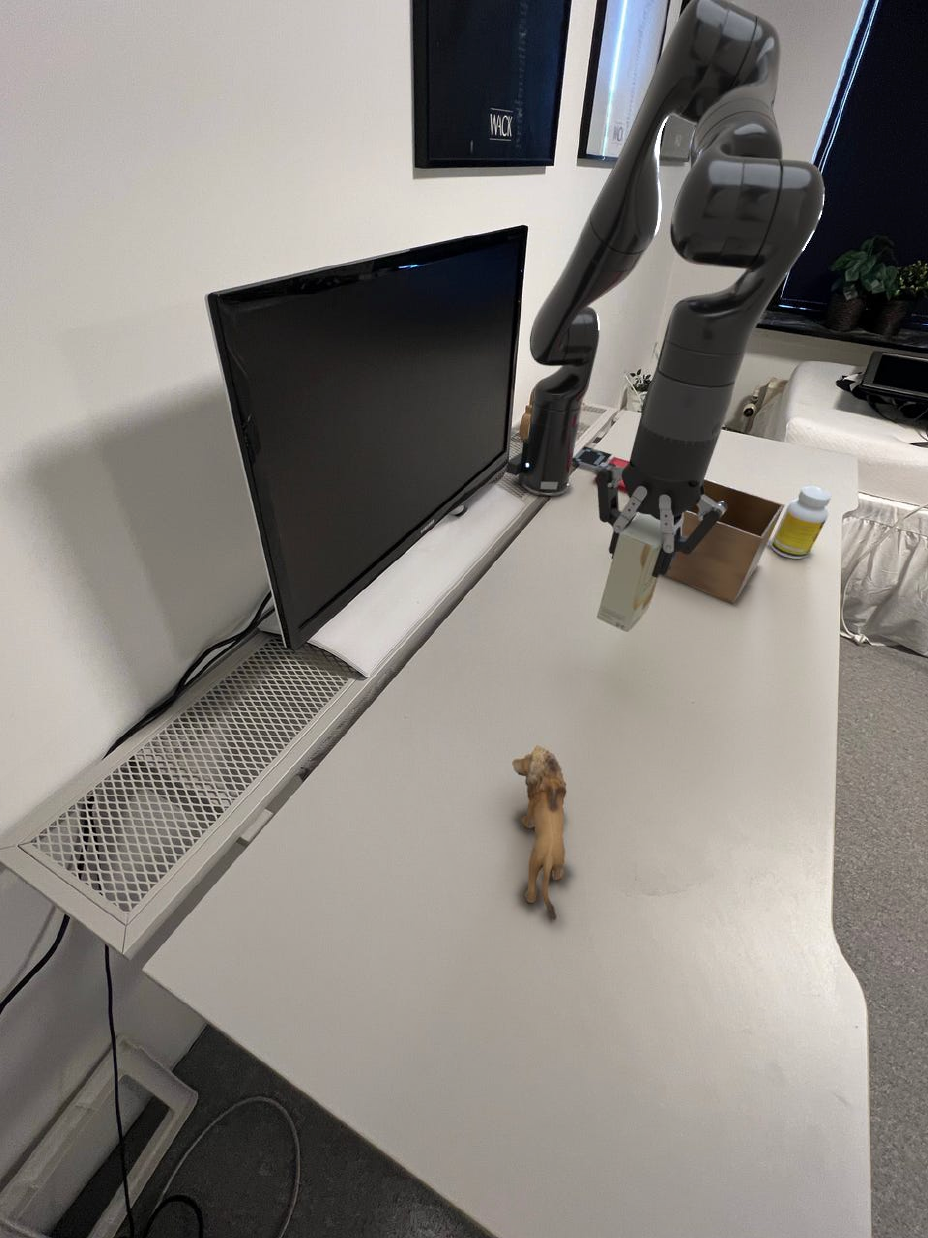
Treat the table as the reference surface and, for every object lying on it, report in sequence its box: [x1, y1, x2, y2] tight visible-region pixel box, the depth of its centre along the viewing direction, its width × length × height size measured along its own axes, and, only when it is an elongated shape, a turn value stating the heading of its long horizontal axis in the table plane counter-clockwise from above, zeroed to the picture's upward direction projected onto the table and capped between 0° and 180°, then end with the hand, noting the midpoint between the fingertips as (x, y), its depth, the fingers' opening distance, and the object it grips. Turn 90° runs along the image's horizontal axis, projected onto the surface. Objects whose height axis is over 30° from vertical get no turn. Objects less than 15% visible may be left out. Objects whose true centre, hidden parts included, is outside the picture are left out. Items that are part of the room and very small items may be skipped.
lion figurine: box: [511, 744, 567, 921], centre depth 59 cm, size 15×5×9 cm, turn 6°
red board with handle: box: [572, 445, 630, 493], centre depth 124 cm, size 30×3×15 cm
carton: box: [664, 478, 786, 605], centre depth 98 cm, size 14×13×12 cm
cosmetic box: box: [596, 513, 663, 633], centre depth 69 cm, size 6×4×12 cm
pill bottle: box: [770, 485, 832, 560], centre depth 104 cm, size 6×6×12 cm
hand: (637, 564), depth 68 cm, fingers closed on cosmetic box, 4 cm apart
